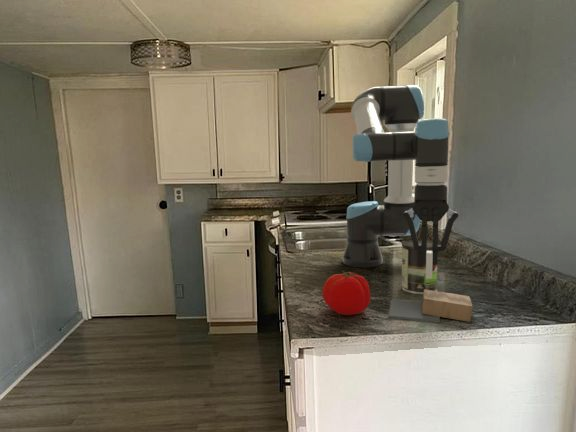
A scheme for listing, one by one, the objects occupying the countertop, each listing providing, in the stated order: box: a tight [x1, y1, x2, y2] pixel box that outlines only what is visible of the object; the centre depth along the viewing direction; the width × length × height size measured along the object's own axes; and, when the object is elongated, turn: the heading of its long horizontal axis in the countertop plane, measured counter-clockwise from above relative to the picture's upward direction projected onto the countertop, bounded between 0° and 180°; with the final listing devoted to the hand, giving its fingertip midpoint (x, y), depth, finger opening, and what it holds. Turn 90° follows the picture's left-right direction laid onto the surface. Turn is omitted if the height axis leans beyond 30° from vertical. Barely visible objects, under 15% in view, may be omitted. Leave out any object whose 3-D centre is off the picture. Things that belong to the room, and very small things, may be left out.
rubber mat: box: [387, 298, 441, 324], centre depth 98 cm, size 12×12×1 cm
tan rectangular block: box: [421, 289, 474, 323], centre depth 95 cm, size 7×4×11 cm
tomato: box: [321, 270, 372, 316], centre depth 99 cm, size 13×12×11 cm
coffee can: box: [401, 239, 438, 296], centre depth 114 cm, size 10×10×14 cm
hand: (428, 276), depth 96 cm, fingers closed
